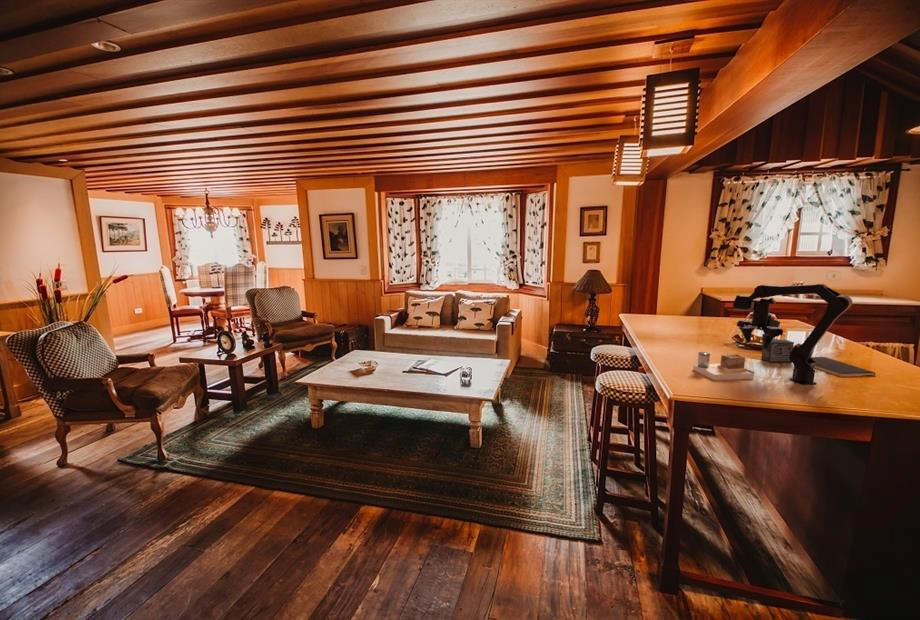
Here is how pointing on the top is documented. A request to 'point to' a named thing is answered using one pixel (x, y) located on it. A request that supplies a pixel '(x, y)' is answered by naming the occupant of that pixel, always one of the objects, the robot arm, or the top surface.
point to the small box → (778, 351)
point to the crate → (732, 363)
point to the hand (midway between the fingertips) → (756, 345)
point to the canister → (703, 359)
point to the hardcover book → (839, 367)
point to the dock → (723, 373)
